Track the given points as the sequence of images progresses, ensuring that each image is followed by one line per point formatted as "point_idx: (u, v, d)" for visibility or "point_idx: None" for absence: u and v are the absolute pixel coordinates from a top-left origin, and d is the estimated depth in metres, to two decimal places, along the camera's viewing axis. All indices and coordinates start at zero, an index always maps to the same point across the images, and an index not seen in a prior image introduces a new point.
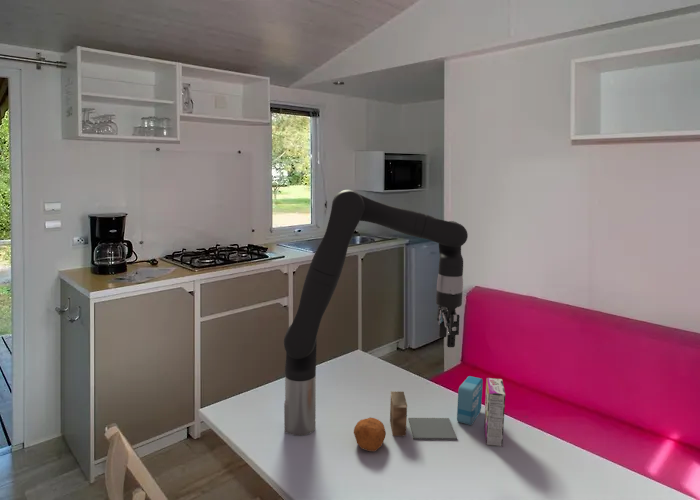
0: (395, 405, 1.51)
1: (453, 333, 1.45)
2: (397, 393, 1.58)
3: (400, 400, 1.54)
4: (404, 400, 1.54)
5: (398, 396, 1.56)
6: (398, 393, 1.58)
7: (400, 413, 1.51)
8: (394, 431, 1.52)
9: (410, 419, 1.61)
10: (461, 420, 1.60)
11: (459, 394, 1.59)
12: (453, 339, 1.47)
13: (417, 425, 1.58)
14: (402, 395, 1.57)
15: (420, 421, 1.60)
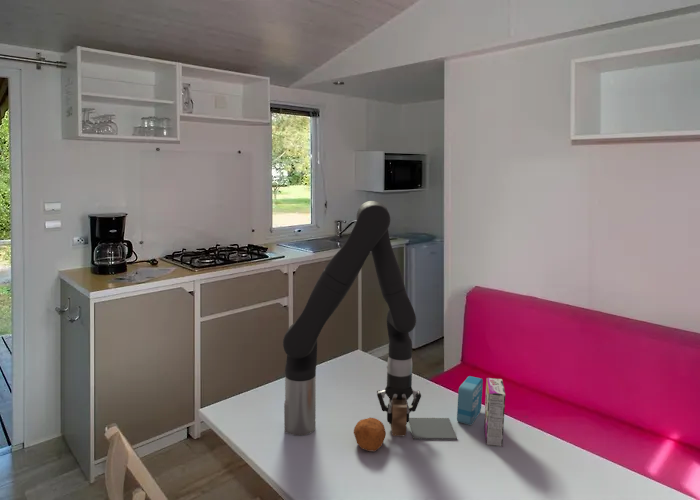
0: (395, 405, 1.51)
1: None
2: None
3: (400, 400, 1.54)
4: (404, 400, 1.54)
5: None
6: None
7: (400, 413, 1.51)
8: (394, 431, 1.52)
9: (410, 419, 1.61)
10: (461, 420, 1.60)
11: (459, 394, 1.59)
12: (408, 414, 1.57)
13: (417, 425, 1.58)
14: None
15: (420, 421, 1.60)
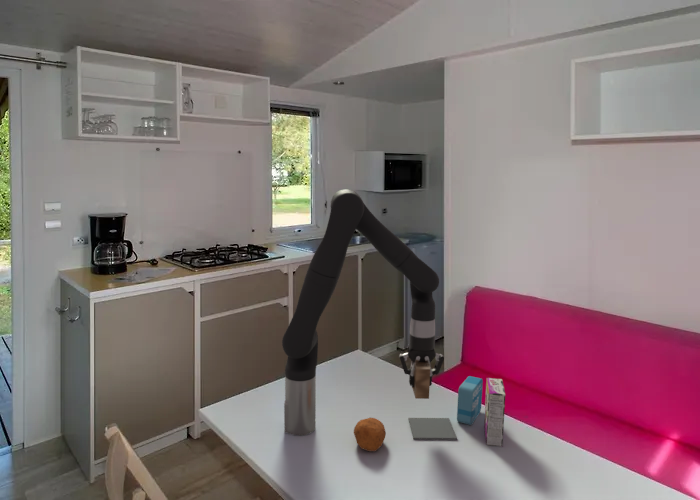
0: (418, 367, 1.49)
1: None
2: None
3: (423, 362, 1.52)
4: None
5: None
6: None
7: (423, 375, 1.49)
8: (417, 393, 1.50)
9: (410, 419, 1.61)
10: (461, 420, 1.60)
11: (459, 394, 1.59)
12: None
13: (417, 425, 1.58)
14: None
15: (420, 421, 1.60)
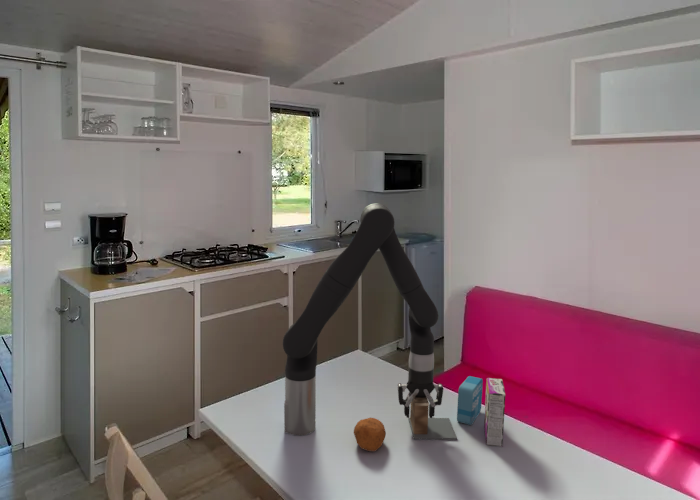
0: (417, 403, 1.51)
1: None
2: None
3: (421, 398, 1.54)
4: (425, 398, 1.54)
5: None
6: None
7: (422, 411, 1.51)
8: (415, 429, 1.52)
9: None
10: (461, 420, 1.60)
11: (459, 394, 1.59)
12: None
13: None
14: None
15: None
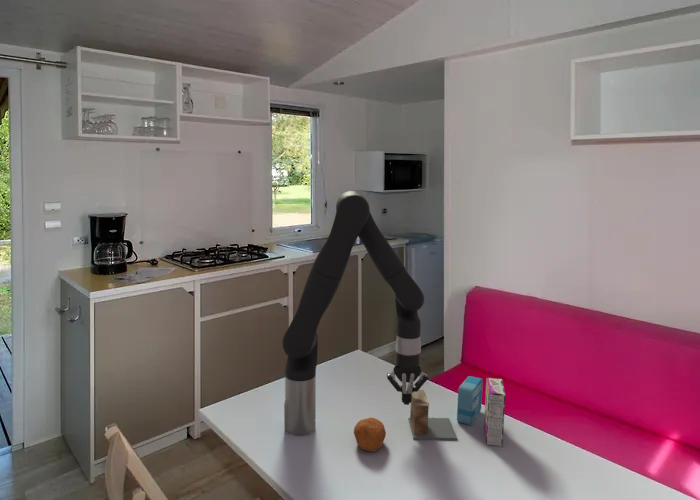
0: (417, 403, 1.51)
1: None
2: (418, 391, 1.58)
3: (421, 398, 1.54)
4: (425, 398, 1.54)
5: (419, 394, 1.56)
6: (419, 391, 1.58)
7: (422, 411, 1.51)
8: (415, 429, 1.52)
9: None
10: (461, 420, 1.60)
11: (459, 394, 1.59)
12: None
13: None
14: (423, 393, 1.57)
15: None
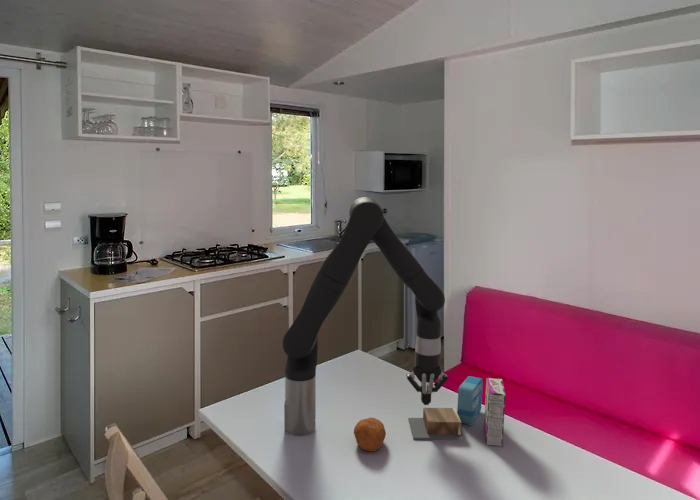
0: (460, 423, 1.52)
1: None
2: None
3: None
4: None
5: None
6: None
7: (451, 428, 1.52)
8: (432, 423, 1.52)
9: (410, 419, 1.61)
10: (461, 420, 1.60)
11: (459, 394, 1.59)
12: None
13: (417, 425, 1.58)
14: None
15: (420, 421, 1.60)
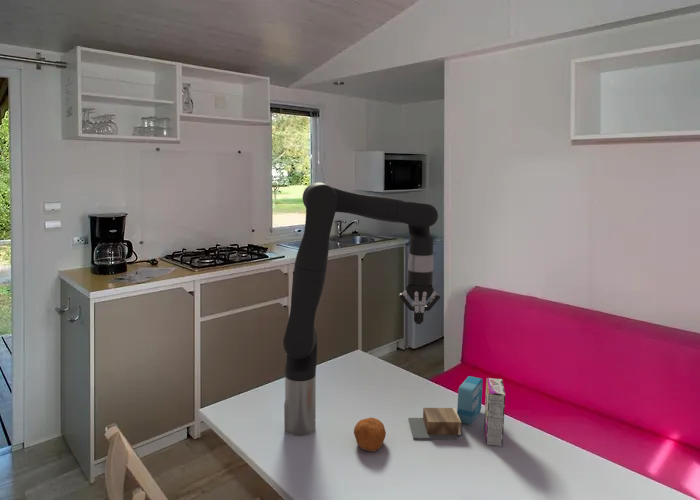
0: (460, 423, 1.52)
1: None
2: None
3: None
4: None
5: None
6: None
7: (451, 428, 1.52)
8: (432, 423, 1.52)
9: (410, 419, 1.61)
10: (461, 420, 1.60)
11: (459, 394, 1.59)
12: None
13: (417, 425, 1.58)
14: None
15: (420, 421, 1.60)
